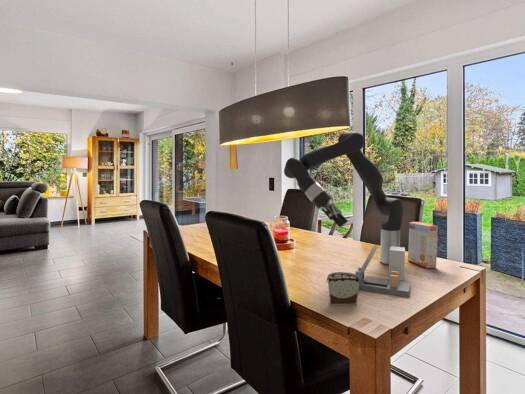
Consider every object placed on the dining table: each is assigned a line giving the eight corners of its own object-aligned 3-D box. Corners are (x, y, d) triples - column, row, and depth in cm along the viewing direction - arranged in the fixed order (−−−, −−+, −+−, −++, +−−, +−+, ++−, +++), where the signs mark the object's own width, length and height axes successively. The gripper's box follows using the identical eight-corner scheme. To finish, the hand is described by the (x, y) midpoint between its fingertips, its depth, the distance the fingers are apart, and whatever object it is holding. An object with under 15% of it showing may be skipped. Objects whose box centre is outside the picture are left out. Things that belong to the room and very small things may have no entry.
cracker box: (437, 268, 163) (438, 225, 162) (426, 269, 162) (427, 226, 160) (417, 260, 177) (418, 221, 175) (407, 261, 176) (408, 221, 174)
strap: (357, 274, 142) (374, 244, 138) (362, 276, 141) (378, 246, 138) (355, 277, 138) (372, 246, 134) (360, 280, 138) (377, 248, 134)
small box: (389, 273, 155) (390, 245, 153) (404, 275, 152) (405, 247, 151) (388, 279, 147) (389, 249, 146) (403, 280, 145) (404, 251, 144)
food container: (355, 297, 126) (356, 271, 125) (360, 304, 119) (361, 276, 119) (322, 298, 125) (323, 271, 124) (326, 304, 119) (326, 277, 118)
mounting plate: (345, 278, 148) (346, 263, 148) (410, 286, 137) (410, 271, 137) (339, 286, 138) (340, 271, 137) (408, 296, 126) (409, 280, 126)
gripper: (319, 190, 137) (347, 220, 133) (328, 188, 150) (353, 216, 146) (306, 202, 139) (333, 232, 135) (316, 200, 152) (341, 227, 148)
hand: (344, 224), depth 141 cm, fingers open, 7 cm apart
